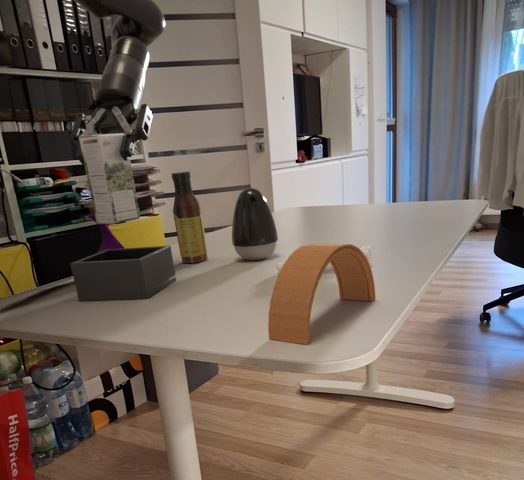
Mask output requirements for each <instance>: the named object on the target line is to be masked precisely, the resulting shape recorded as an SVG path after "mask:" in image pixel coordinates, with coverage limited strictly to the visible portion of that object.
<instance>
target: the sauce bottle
mask: <svg viewBox="0 0 524 480" xmlns="http://www.w3.org/2000/svg"><path fill="white" fill-rule="evenodd" d="M191 176H192V175H191V171H190V170H183V171H175V172H172V173H171V180H172V181H173V187H174V193H175V194H174V201H173V206H172V214H173V215H172V216H173V220H174V225H175V231H176V237H177V243H178V248H179V256H180V257H181V261H182V263H184V264H199V263H201V262H205V261H207V260H208V247H207V240H206V233H205V228H204V221H203V216H202V211H201V205H200V202H199V200H198V198H197V197H196V196H195V194H194V193H193V188H192V181H191Z"/></svg>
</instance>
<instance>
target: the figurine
mask: <svg viewBox="0 0 524 480" xmlns="http://www.w3.org/2000/svg"><path fill="white" fill-rule="evenodd" d="M350 245H354V246H355V243H352V244H350ZM358 248H359V249H360V250H361V251H362V252H363V254H364V255H365V256H366V258H367V260H368V262H369V265H370V268H371V267H373V255H372V254H373V253H372V249H371V248H372V247H371V245H365V246H361V247H358ZM286 261H287V260H285V261H283V262H278V263H277V264H276V266H275V268H276V271H277V272H278V273H280V271H281V269H282V267H283V265H284V263H285V262H286ZM371 269H372V268H371ZM327 270H334V268H333V266H332V265H331V263H330V262H329V264H328V265H327V267H326V268H325V270H324V271H327Z"/></svg>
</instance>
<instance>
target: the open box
mask: <svg viewBox="0 0 524 480" xmlns="http://www.w3.org/2000/svg"><path fill="white" fill-rule="evenodd" d="M69 266H70V269H71V273H72V277H73V281H74V282H73V283H74V287H75V290H76V291H75V292H76V295H77V299H78V301H79V302H93V301H120V300H121V301H123V300H125V301H127V300H148V299H150V298H152V297H153V296H155V295H157V294H158V293H159V292H160V291H162V290H164V289H166V288H167V287H169V286H170V285H172V284H174V282H176V281H177V276H176V272H175V271H176V270H175V264H174V259H173V251H172V246H171V245H157V246H142V247H124V248H122V249H107V250H104V251H101V252H99V253H98V252H96V253H94V254H91V255H88V256H86V257H84V258H81V259H79V260H76V261H73V262H70V265H69Z"/></svg>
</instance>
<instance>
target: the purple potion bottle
mask: <svg viewBox="0 0 524 480" xmlns="http://www.w3.org/2000/svg"><path fill="white" fill-rule="evenodd" d="M87 208H88V211H89V214H87V218H88V219H91V220H92V221H93V222H94V223H95V224H96V225H97V226H98V229H99V230H100V232H101V236H102V242H101V244H100V247H99V249H98V250H97V253H99V252H101V251H104V250H107V249H122V248H125V247H124V245H123V244H122V243H121V242H120V240H119V239H118V238H117V237H116V236H115V234H114V233H113V231H112V230H111V228H110V227H109V224H98V223H96V219H95V214H94V209H93V204H89V206H87Z"/></svg>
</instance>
